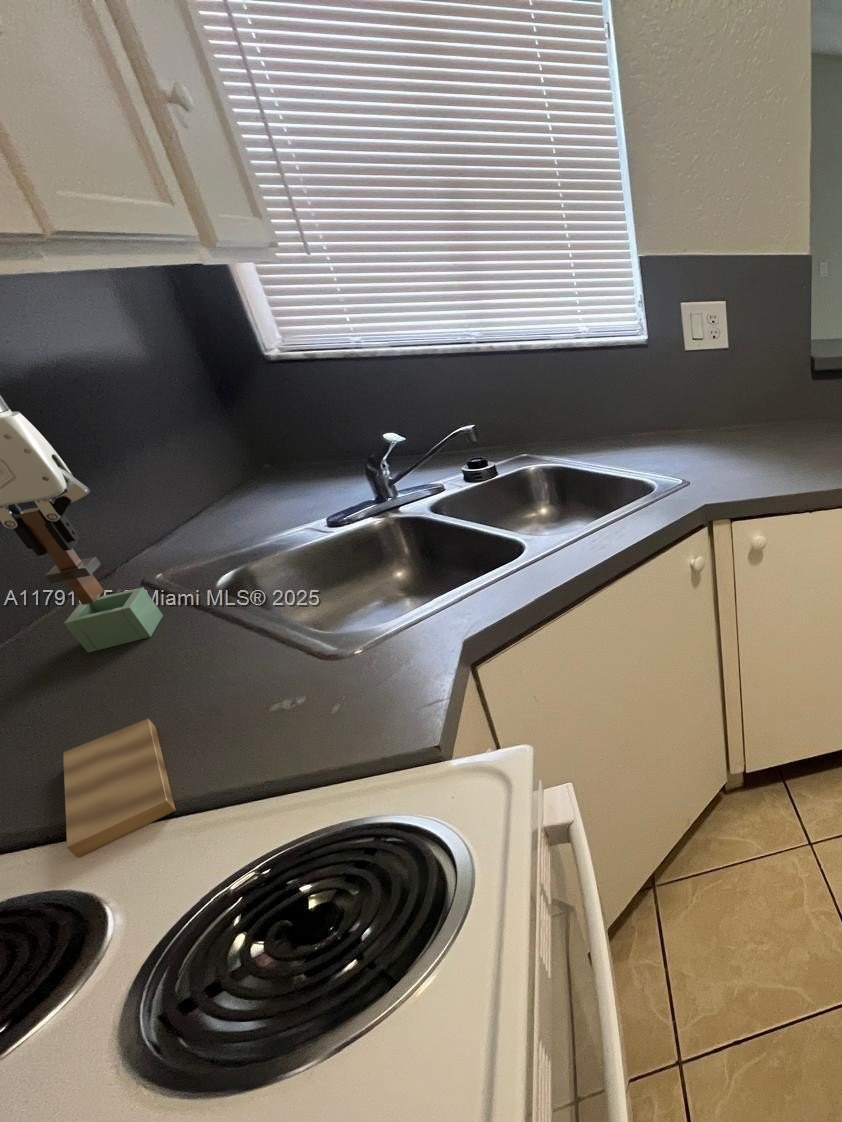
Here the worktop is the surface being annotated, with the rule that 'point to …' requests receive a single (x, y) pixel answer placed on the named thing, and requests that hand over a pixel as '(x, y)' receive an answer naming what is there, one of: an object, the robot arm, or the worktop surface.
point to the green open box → (114, 620)
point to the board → (114, 787)
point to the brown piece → (65, 561)
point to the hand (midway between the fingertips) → (58, 548)
